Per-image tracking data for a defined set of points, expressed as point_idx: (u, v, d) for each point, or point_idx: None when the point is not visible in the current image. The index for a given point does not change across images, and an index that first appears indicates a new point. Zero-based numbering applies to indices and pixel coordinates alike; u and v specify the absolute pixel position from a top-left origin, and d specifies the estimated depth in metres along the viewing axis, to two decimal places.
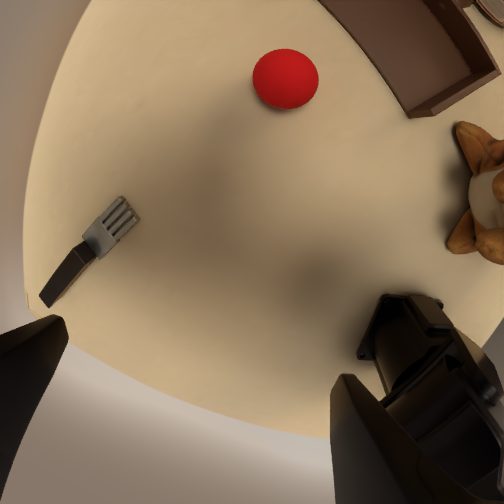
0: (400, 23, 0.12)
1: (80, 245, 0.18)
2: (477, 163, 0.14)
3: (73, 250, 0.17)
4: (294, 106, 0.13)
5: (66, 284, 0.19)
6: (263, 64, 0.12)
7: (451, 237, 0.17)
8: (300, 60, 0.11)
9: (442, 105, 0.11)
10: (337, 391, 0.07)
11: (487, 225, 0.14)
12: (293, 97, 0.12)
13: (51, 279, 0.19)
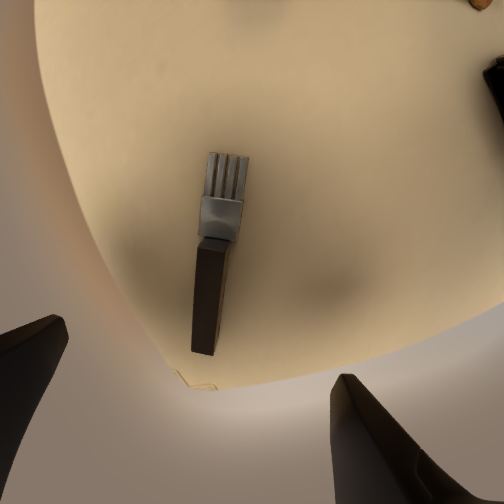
0: None
1: (203, 241, 0.16)
2: None
3: (200, 248, 0.15)
4: None
5: (217, 301, 0.16)
6: None
7: None
8: None
9: None
10: (337, 391, 0.07)
11: None
12: None
13: (195, 314, 0.17)
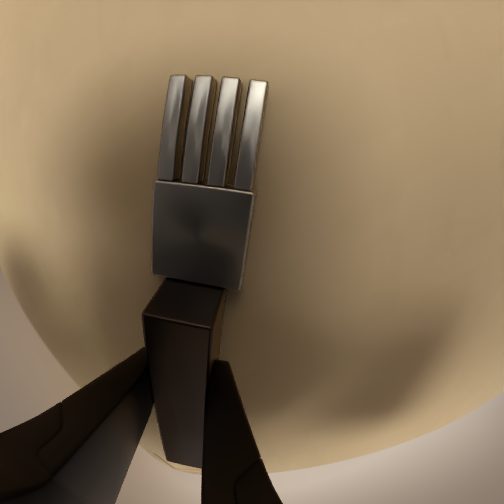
0: None
1: (160, 293, 0.06)
2: None
3: (147, 317, 0.06)
4: None
5: (202, 414, 0.07)
6: None
7: None
8: None
9: None
10: None
11: None
12: None
13: (161, 424, 0.07)
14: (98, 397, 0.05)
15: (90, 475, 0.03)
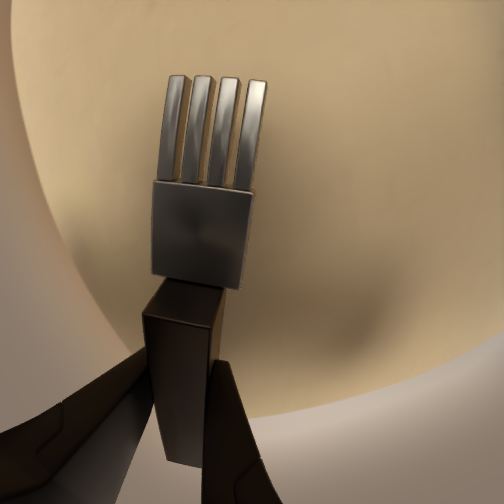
0: None
1: (160, 293, 0.06)
2: None
3: (147, 317, 0.06)
4: None
5: (202, 414, 0.07)
6: None
7: None
8: None
9: None
10: None
11: None
12: None
13: (161, 424, 0.07)
14: (99, 397, 0.05)
15: (90, 475, 0.03)
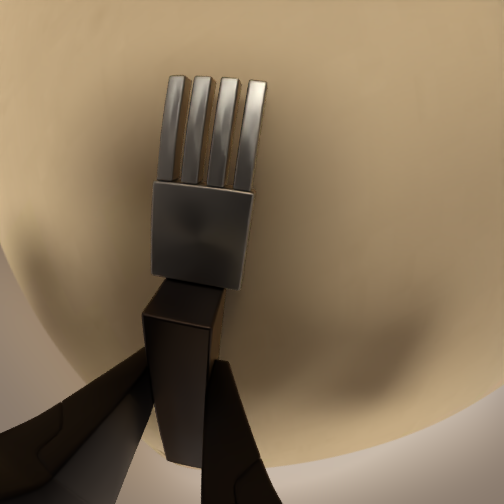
0: None
1: (160, 293, 0.06)
2: None
3: (147, 317, 0.06)
4: None
5: (202, 414, 0.07)
6: None
7: None
8: None
9: None
10: None
11: None
12: None
13: (161, 424, 0.07)
14: (98, 397, 0.05)
15: (90, 475, 0.03)
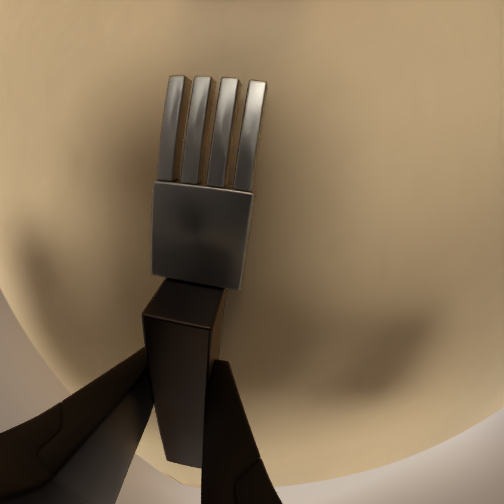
0: None
1: (160, 293, 0.06)
2: None
3: (147, 317, 0.06)
4: None
5: (202, 414, 0.07)
6: None
7: None
8: None
9: None
10: None
11: None
12: None
13: (161, 424, 0.07)
14: (99, 396, 0.05)
15: (90, 475, 0.03)
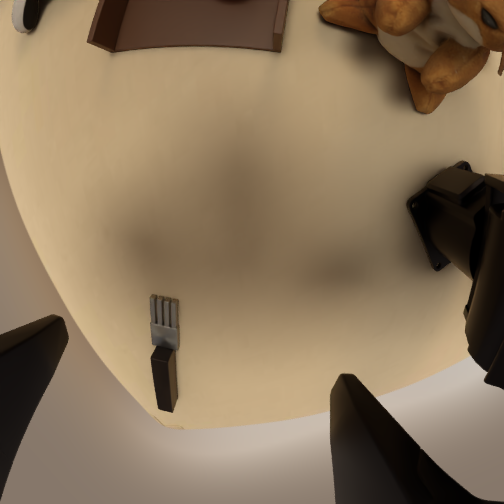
0: None
1: (155, 351, 0.22)
2: (366, 23, 0.11)
3: (152, 358, 0.21)
4: None
5: (168, 386, 0.22)
6: None
7: (414, 102, 0.14)
8: None
9: (279, 18, 0.10)
10: (337, 391, 0.07)
11: (426, 62, 0.10)
12: None
13: (156, 390, 0.23)
14: None
15: None
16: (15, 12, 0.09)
